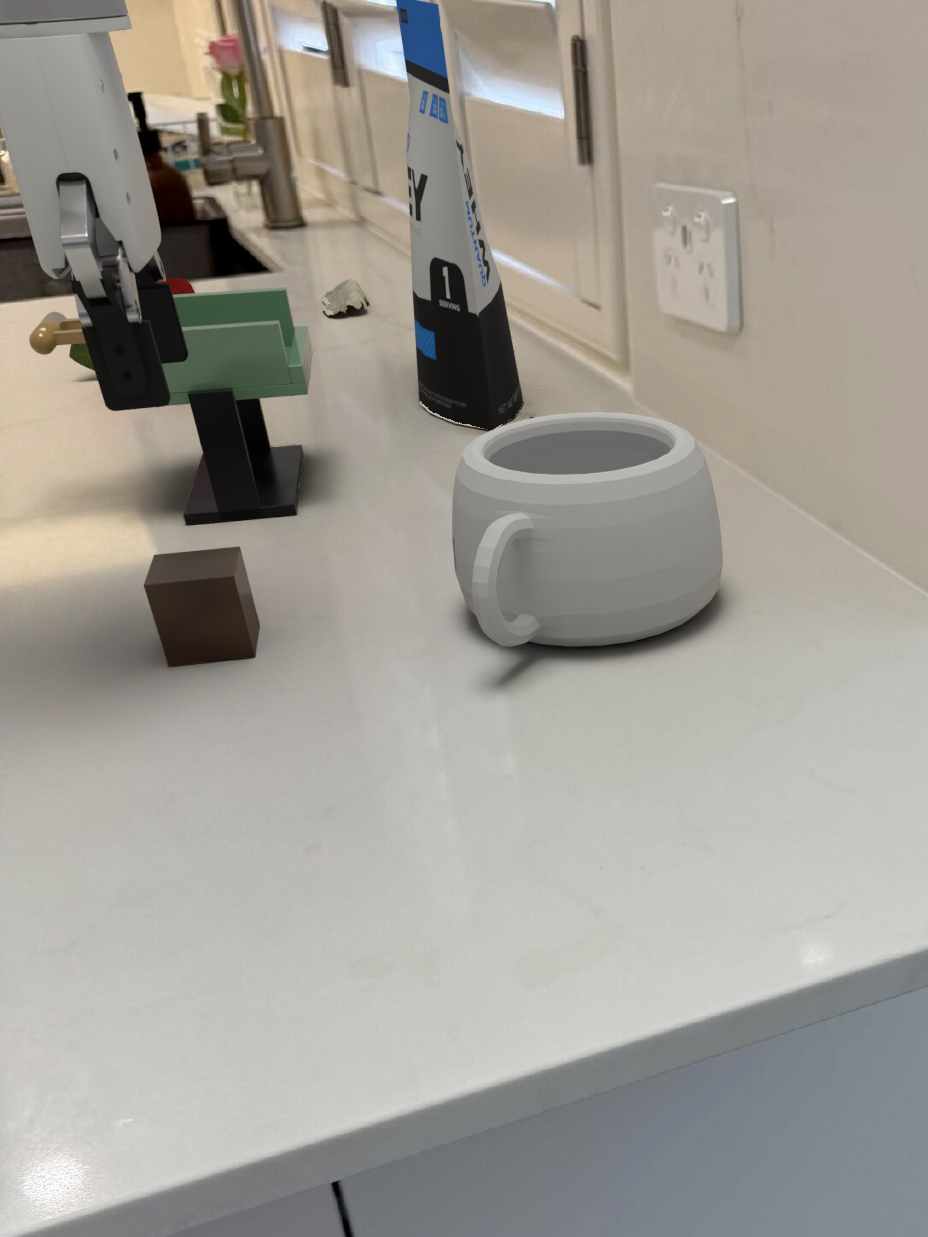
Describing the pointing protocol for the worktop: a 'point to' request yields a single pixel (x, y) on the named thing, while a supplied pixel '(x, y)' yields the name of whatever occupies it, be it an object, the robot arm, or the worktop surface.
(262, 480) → the base
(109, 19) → the robot arm
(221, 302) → the dish
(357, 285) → the grey jagged shell
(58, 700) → the worktop surface
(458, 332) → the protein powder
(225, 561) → the block
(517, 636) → the mug
